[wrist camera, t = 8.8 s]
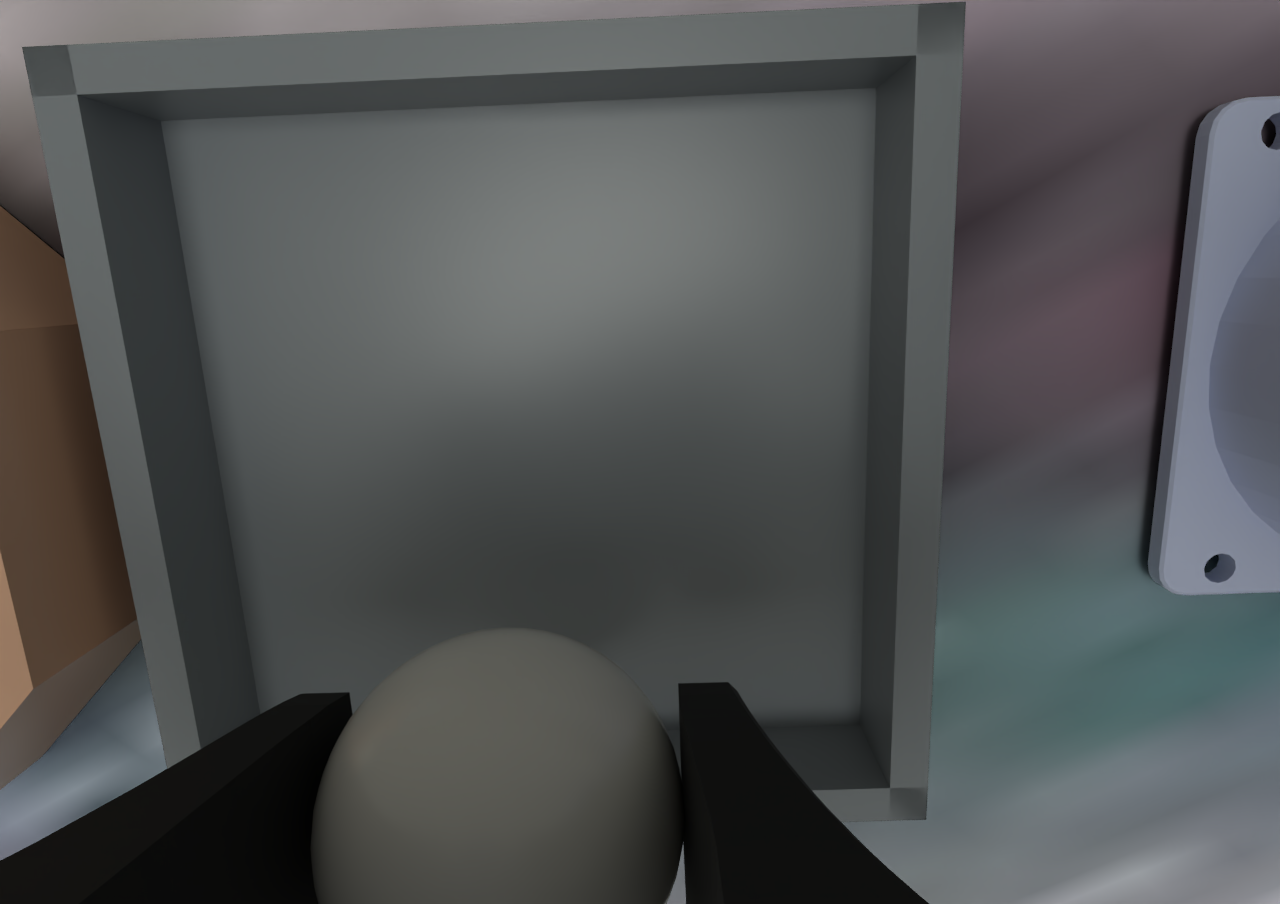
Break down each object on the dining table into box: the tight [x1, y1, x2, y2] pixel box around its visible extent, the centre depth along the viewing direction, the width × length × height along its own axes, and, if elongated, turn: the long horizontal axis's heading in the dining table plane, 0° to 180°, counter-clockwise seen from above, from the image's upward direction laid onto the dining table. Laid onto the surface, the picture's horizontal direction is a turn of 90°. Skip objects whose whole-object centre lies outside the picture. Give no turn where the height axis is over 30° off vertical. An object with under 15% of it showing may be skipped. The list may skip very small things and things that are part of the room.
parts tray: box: [22, 2, 966, 822], centre depth 12 cm, size 12×12×2 cm
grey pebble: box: [310, 627, 684, 904], centre depth 9 cm, size 4×4×4 cm
